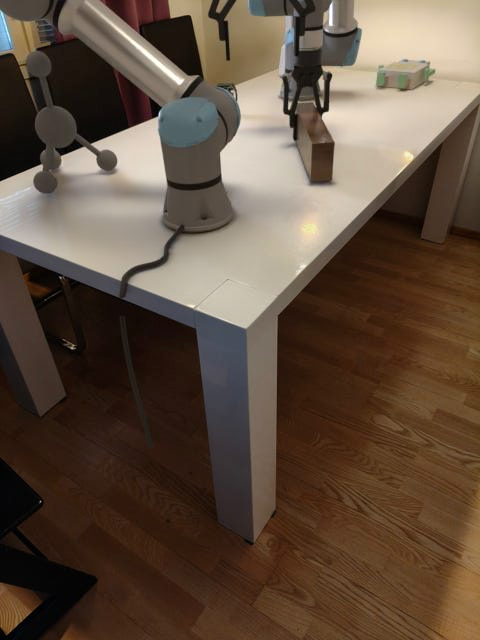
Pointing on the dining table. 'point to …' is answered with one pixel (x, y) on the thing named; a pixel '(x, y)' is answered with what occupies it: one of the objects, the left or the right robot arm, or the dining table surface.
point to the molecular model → (57, 130)
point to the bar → (314, 142)
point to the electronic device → (282, 58)
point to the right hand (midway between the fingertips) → (305, 138)
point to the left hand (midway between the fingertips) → (262, 57)
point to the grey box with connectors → (404, 74)
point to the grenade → (228, 87)
